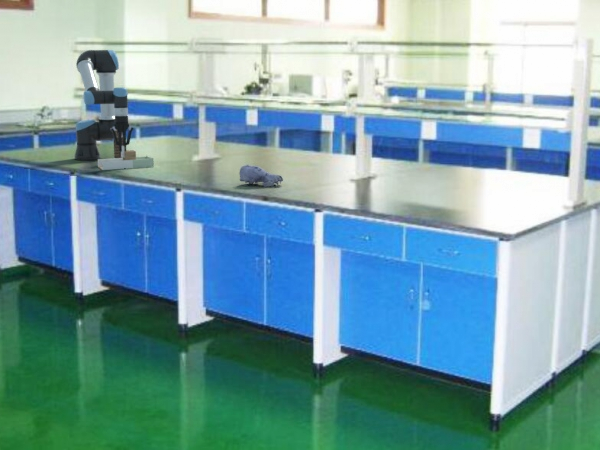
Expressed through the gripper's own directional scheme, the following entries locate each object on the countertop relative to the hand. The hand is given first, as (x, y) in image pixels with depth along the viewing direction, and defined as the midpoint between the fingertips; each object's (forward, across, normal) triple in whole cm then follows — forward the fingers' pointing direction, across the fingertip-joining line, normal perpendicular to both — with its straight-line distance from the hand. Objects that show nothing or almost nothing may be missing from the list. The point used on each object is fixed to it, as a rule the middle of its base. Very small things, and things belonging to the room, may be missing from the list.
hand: (122, 157), depth 478 cm
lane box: (+6, +2, 0) cm, 6 cm away
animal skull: (+6, +47, -90) cm, 102 cm away
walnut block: (+3, +4, 0) cm, 5 cm away
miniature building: (+6, +2, +19) cm, 20 cm away
